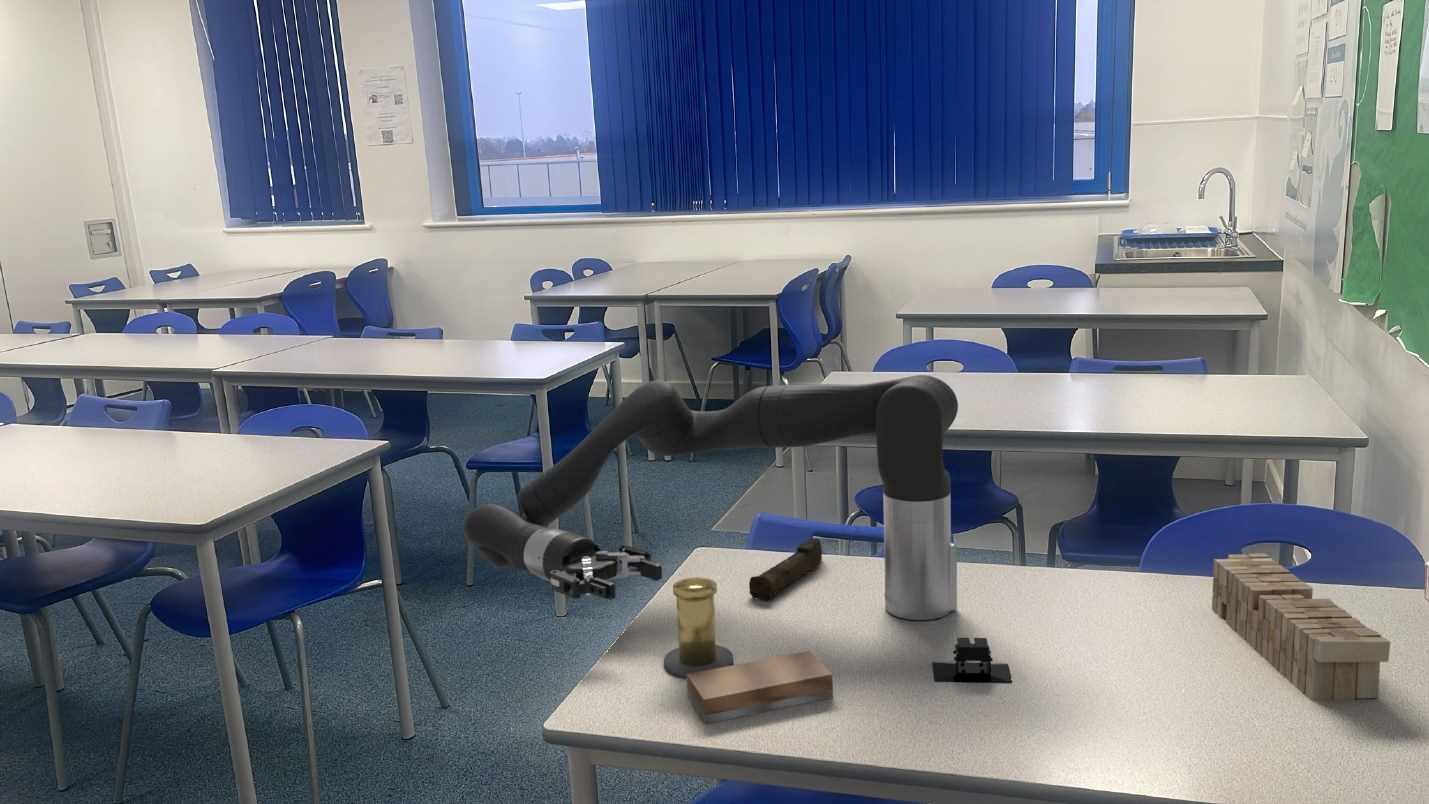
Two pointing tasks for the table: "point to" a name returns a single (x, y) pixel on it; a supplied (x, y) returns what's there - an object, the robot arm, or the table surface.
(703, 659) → the flanged brass cylinder
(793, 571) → the hand tool
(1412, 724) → the table surface
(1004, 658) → the table surface
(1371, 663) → the block tower
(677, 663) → the rubber pad
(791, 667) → the body
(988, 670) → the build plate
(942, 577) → the robot arm
